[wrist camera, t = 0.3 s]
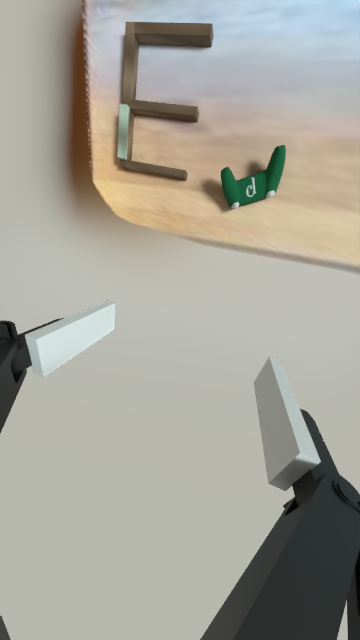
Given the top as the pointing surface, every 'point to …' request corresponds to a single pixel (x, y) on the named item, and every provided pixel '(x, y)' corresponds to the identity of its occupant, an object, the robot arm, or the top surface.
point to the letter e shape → (164, 36)
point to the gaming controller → (254, 182)
